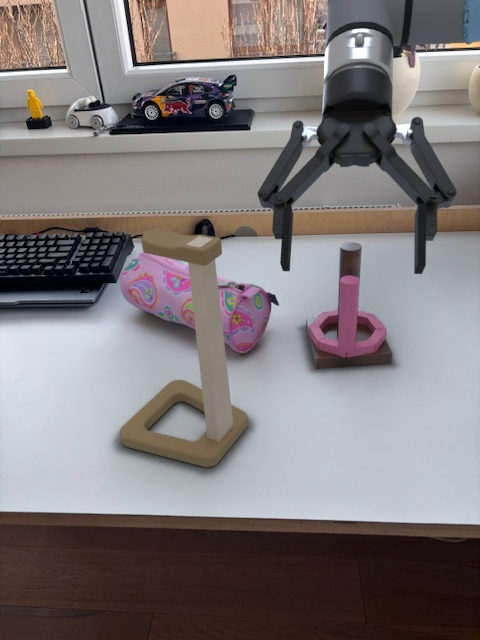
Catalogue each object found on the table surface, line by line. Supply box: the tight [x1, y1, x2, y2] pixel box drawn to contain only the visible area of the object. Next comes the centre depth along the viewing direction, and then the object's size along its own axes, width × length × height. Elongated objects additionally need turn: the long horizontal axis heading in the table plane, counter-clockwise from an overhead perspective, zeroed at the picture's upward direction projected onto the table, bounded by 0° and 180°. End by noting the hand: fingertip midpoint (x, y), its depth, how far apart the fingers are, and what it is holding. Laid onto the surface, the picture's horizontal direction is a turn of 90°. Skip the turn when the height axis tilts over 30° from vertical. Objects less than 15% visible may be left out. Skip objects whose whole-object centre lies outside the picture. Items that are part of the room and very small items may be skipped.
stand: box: [305, 241, 393, 369], centre depth 65 cm, size 9×9×14 cm
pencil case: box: [119, 251, 280, 354], centre depth 72 cm, size 21×9×9 cm, turn 50°
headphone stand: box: [119, 227, 249, 468], centre depth 51 cm, size 10×11×22 cm
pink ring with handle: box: [309, 276, 388, 357], centre depth 65 cm, size 9×10×10 cm
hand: (350, 268), depth 56 cm, fingers open, 13 cm apart
